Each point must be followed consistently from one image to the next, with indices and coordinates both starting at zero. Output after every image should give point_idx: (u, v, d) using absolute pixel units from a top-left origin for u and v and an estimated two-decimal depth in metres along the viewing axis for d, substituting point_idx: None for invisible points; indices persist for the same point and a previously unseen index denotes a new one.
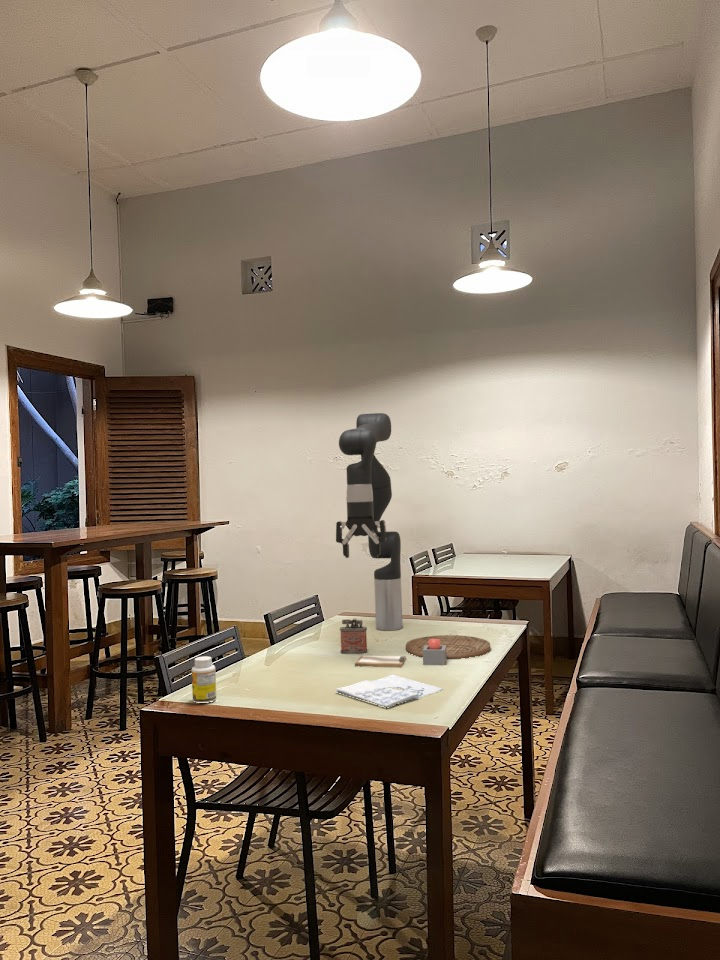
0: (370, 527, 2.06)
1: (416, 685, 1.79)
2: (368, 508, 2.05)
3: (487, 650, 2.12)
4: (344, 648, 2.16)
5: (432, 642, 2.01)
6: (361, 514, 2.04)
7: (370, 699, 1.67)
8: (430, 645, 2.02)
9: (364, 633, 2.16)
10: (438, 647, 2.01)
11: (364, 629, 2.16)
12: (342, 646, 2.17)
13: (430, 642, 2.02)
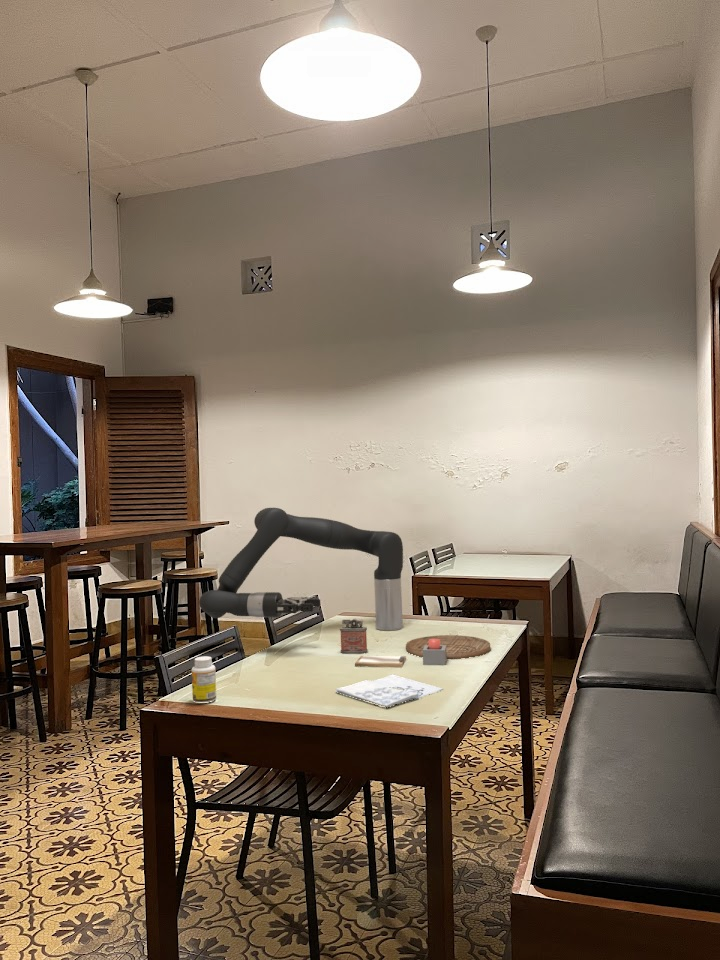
0: None
1: (416, 685, 1.79)
2: (269, 614, 2.19)
3: (487, 650, 2.12)
4: (344, 648, 2.16)
5: (432, 642, 2.01)
6: None
7: (370, 699, 1.67)
8: (430, 645, 2.02)
9: (364, 633, 2.16)
10: (438, 647, 2.01)
11: (364, 629, 2.16)
12: (342, 646, 2.17)
13: (430, 642, 2.02)
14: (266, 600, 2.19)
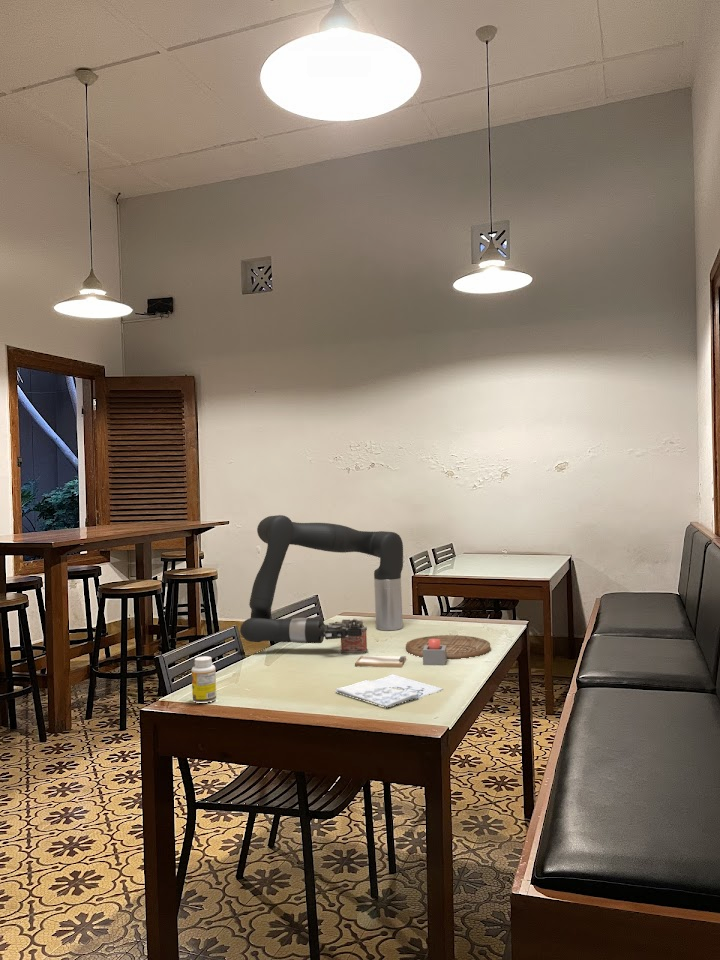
0: None
1: (416, 685, 1.79)
2: (312, 640, 2.17)
3: (487, 650, 2.11)
4: (345, 648, 2.16)
5: (432, 642, 2.01)
6: None
7: (370, 699, 1.67)
8: (430, 645, 2.02)
9: (364, 633, 2.16)
10: (438, 647, 2.01)
11: (364, 629, 2.16)
12: (342, 646, 2.17)
13: (430, 642, 2.02)
14: (308, 626, 2.17)
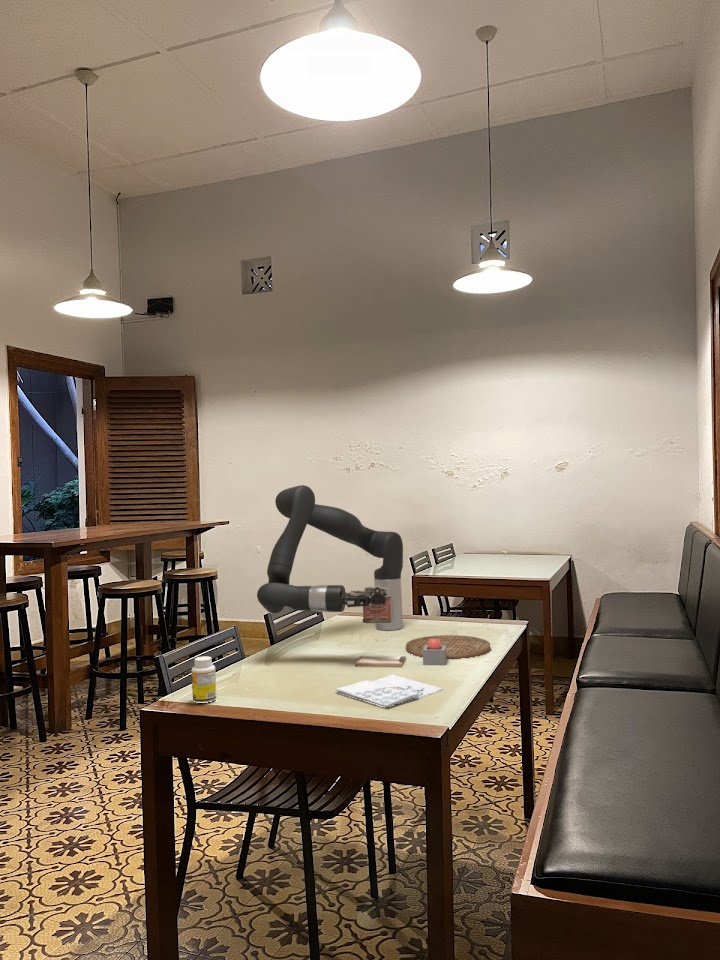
0: None
1: (416, 685, 1.79)
2: (332, 608, 2.05)
3: (487, 650, 2.11)
4: (367, 617, 2.04)
5: (432, 642, 2.01)
6: (339, 611, 2.06)
7: (370, 699, 1.67)
8: (430, 645, 2.02)
9: (388, 601, 2.04)
10: (438, 647, 2.01)
11: (388, 597, 2.03)
12: (364, 615, 2.04)
13: (430, 642, 2.02)
14: (329, 593, 2.04)
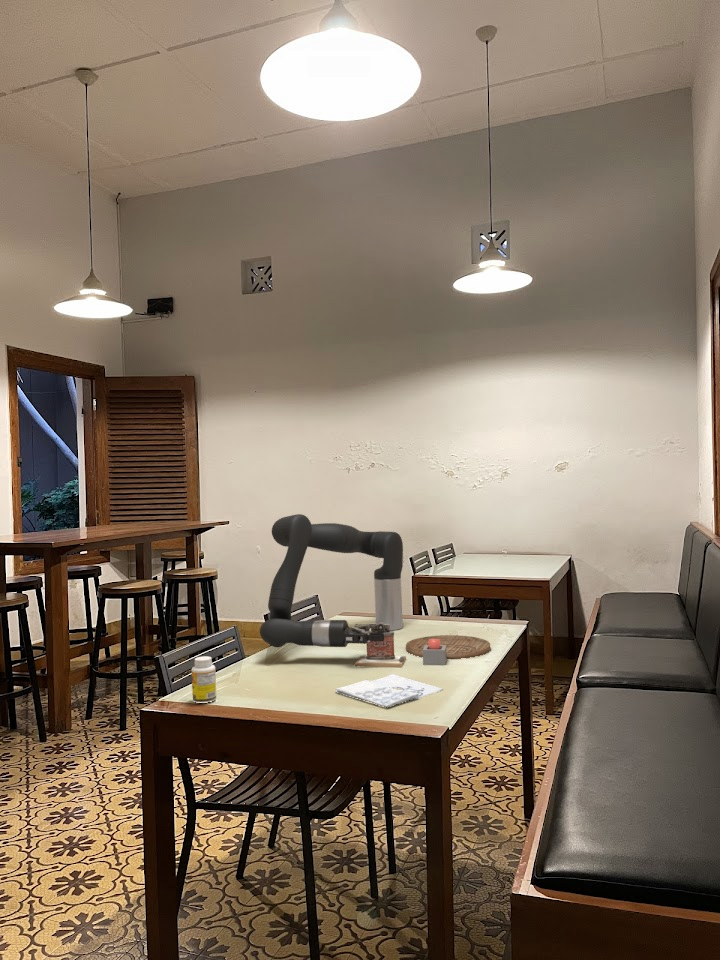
0: None
1: (416, 685, 1.79)
2: (336, 644, 2.04)
3: (487, 650, 2.11)
4: (371, 654, 2.04)
5: (432, 642, 2.01)
6: None
7: (370, 699, 1.67)
8: (430, 645, 2.02)
9: (391, 638, 2.03)
10: (438, 647, 2.01)
11: (391, 634, 2.03)
12: (368, 652, 2.04)
13: (430, 642, 2.02)
14: (332, 629, 2.04)
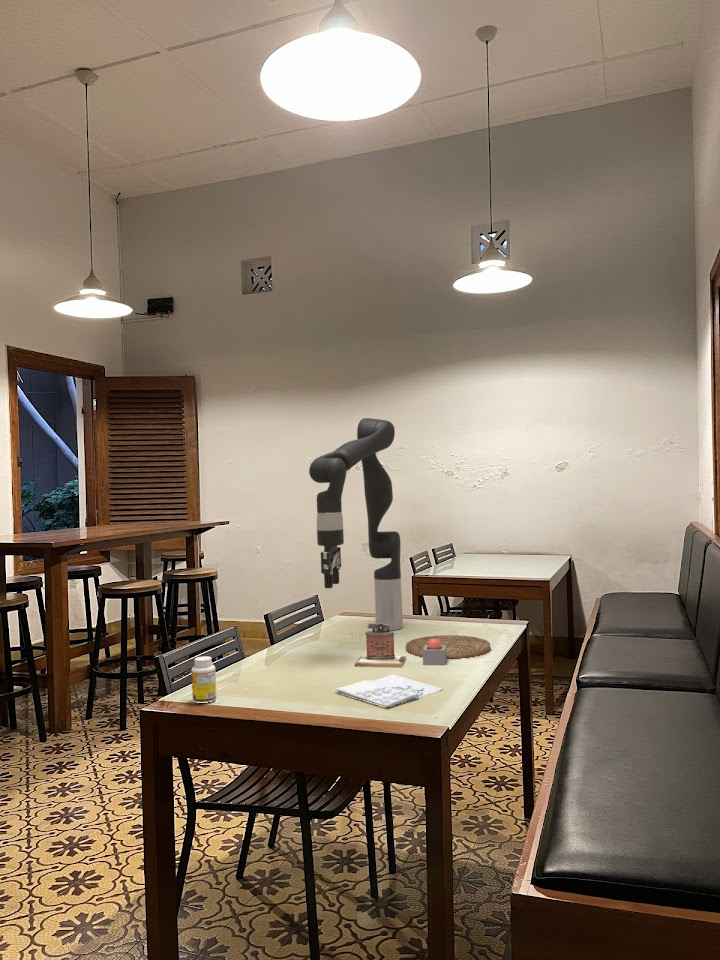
0: None
1: (416, 685, 1.79)
2: (319, 537, 2.05)
3: (487, 650, 2.11)
4: (371, 654, 2.04)
5: (432, 642, 2.01)
6: (317, 542, 2.07)
7: (370, 699, 1.67)
8: (430, 645, 2.02)
9: (391, 638, 2.03)
10: (438, 647, 2.01)
11: (391, 634, 2.03)
12: (368, 652, 2.04)
13: (430, 642, 2.02)
14: (333, 534, 2.04)
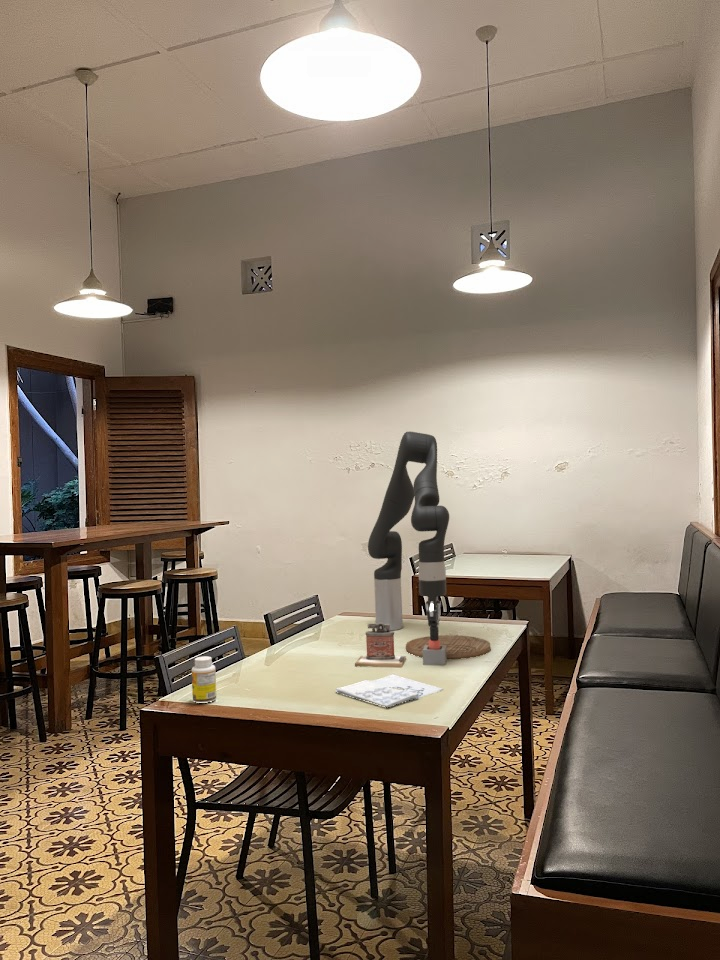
0: (428, 607, 2.00)
1: (416, 685, 1.79)
2: (422, 587, 2.00)
3: (487, 650, 2.11)
4: (371, 654, 2.04)
5: (432, 642, 2.01)
6: (419, 592, 2.02)
7: (370, 699, 1.67)
8: (430, 645, 2.02)
9: (391, 638, 2.03)
10: (438, 647, 2.01)
11: (391, 634, 2.03)
12: (368, 652, 2.04)
13: (430, 642, 2.02)
14: (438, 584, 1.99)
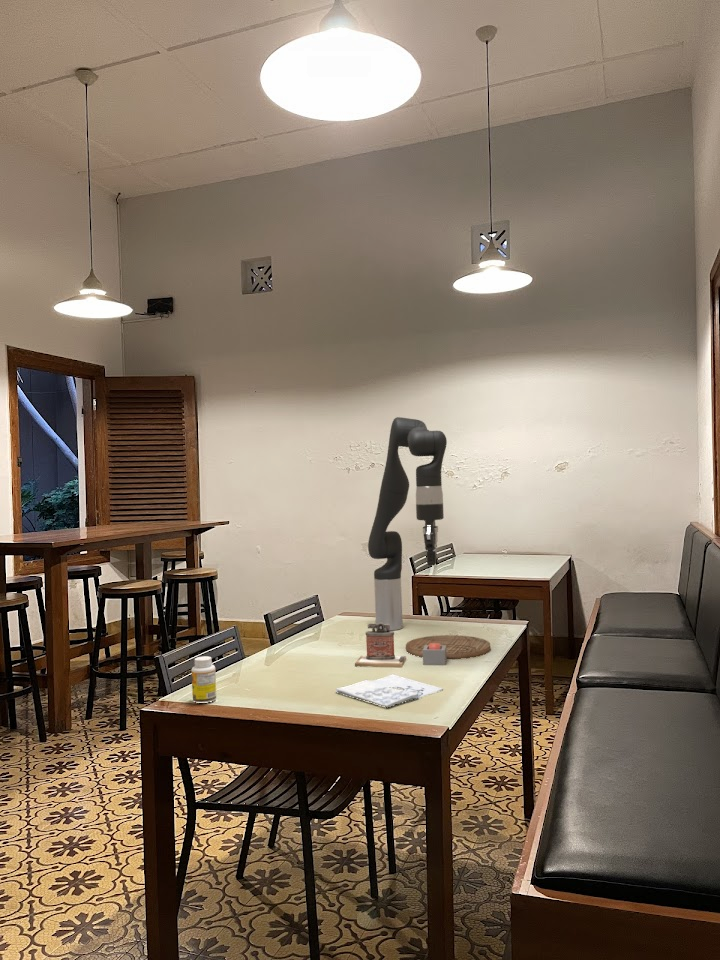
0: (425, 531, 2.00)
1: (416, 685, 1.79)
2: (420, 511, 2.00)
3: (487, 650, 2.11)
4: (371, 654, 2.04)
5: (432, 646, 2.01)
6: None
7: (370, 699, 1.67)
8: None
9: (391, 638, 2.03)
10: None
11: (391, 634, 2.03)
12: (368, 652, 2.04)
13: (430, 646, 2.02)
14: (435, 508, 1.99)
